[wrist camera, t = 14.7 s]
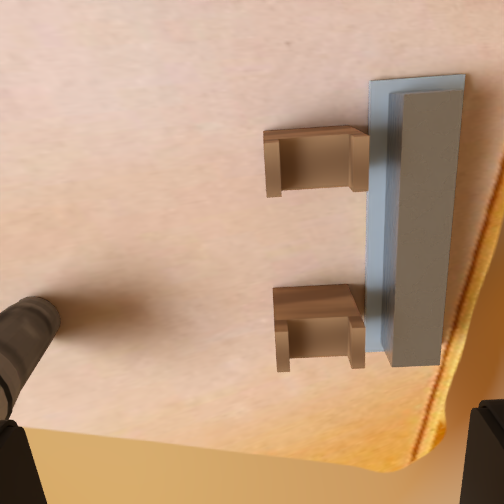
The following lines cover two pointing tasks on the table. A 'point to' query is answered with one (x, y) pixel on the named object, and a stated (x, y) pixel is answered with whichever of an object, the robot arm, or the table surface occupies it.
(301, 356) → the post far
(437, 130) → the rail
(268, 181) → the post near
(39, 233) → the table surface
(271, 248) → the table surface
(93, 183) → the table surface
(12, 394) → the beverage cup
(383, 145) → the grey board
